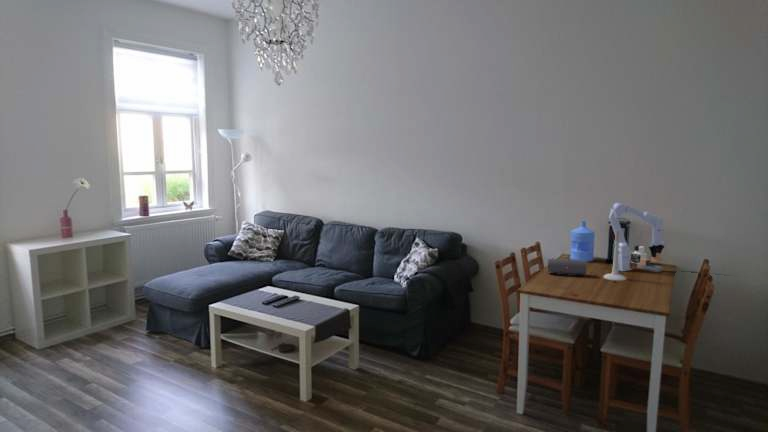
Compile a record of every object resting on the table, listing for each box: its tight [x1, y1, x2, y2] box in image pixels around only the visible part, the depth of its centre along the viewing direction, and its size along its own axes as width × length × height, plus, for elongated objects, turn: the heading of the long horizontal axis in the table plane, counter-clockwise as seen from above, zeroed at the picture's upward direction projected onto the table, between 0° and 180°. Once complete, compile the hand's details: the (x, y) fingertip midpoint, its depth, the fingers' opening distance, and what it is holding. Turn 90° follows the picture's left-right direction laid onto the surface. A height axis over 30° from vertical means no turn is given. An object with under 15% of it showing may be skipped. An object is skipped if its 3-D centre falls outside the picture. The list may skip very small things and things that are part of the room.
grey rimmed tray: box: [636, 258, 665, 273], centre depth 324 cm, size 14×7×6 cm, turn 29°
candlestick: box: [603, 231, 627, 282], centre depth 301 cm, size 13×13×30 cm
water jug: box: [569, 220, 596, 263], centre depth 353 cm, size 16×16×28 cm
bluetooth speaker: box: [547, 258, 587, 276], centre depth 312 cm, size 23×9×10 cm, turn 71°
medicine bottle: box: [630, 245, 648, 265], centre depth 343 cm, size 7×7×12 cm
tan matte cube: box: [650, 253, 662, 263], centre depth 320 cm, size 5×4×5 cm
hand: (655, 256), depth 320 cm, fingers closed on tan matte cube, 4 cm apart
